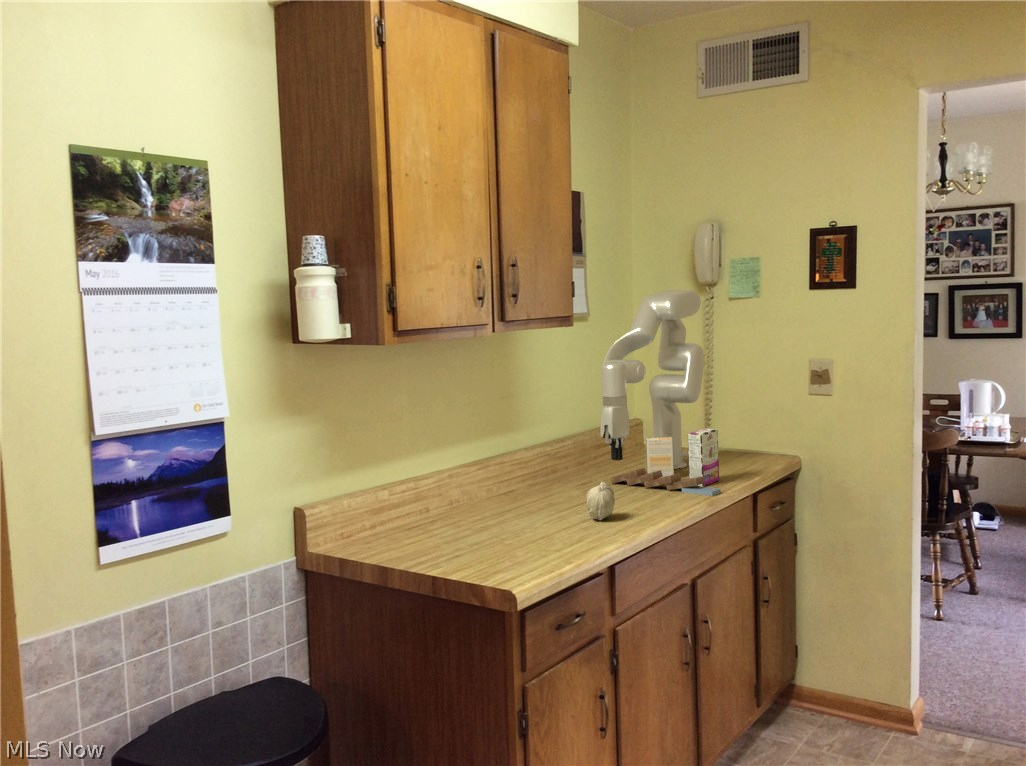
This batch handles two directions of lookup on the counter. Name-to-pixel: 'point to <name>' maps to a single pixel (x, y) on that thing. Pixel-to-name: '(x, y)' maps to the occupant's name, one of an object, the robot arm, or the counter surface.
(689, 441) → the candy bar box
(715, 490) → the domino
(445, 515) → the counter surface
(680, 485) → the domino
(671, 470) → the supplement box
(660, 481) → the domino
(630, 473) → the domino
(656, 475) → the domino
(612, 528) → the counter surface
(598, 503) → the garlic bulb
